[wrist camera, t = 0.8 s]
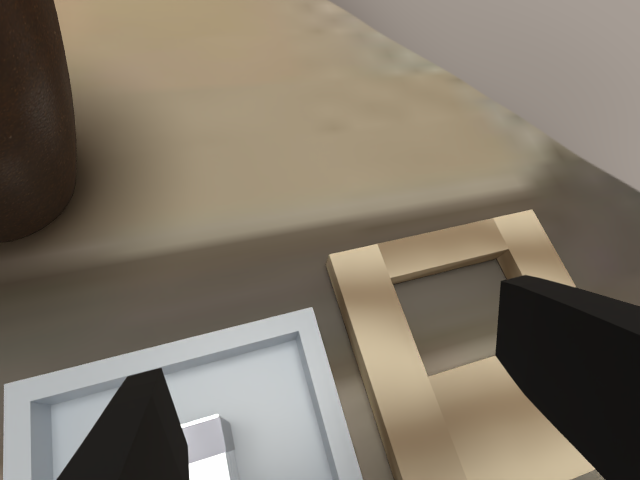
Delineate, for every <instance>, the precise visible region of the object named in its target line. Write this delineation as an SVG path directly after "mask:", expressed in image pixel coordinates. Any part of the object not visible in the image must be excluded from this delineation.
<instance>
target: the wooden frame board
mask: <svg viewBox="0 0 640 480" xmlns="http://www.w3.org/2000/svg"><path fill="white" fill-rule="evenodd" d="M493 259H497V260H498V262H499V264H500V266H501V268H502V270H503V272H504V274H505V276H506V278H507V279H511V278H515V277H519V276H523V275H528V276H533V277H538V278H542V279H546V280H550V281H554V282H558V283H561V284H565V285H568V286H572V287H575V288H576V286H575V284H574V283H573V281H572V279H571V277H570V275H569V274H568V272H567V270H566V268H565V267H564V265H563V263H562V261H561V260H560V258H559V256H558V254H557V252H556V251H555V249H554V247H553V245H552V244H551V242H550V240H549V238H548V236H547V235H546V233H545V231H544V229H543V228H542V226H541V224H540V222H539V221H538V219H537V217H536V215H535V213H534V212H533V210H528V211H523V212H519V213H514V214H510V215H505V216H501V217H496V218H492V219H487V220H483V221H478V222H474V223H469V224H465V225H460V226H456V227H451V228H447V229H442V230H438V231H433V232H429V233H424V234H420V235H415V236H411V237H406V238H402V239H397V240H393V241H388V242H384V243H379V244H375V245H370V246H366V247H361V248H357V249H352V250H348V251H343V252H339V253H334V254H330V255H329V257H328V260H327V262H326V267H327V271H328V274H329V277H330V280H331V283H332V286H333V289H334V292H335V296H336V299H337V302H338V305H339V308H340V311H341V314H342V318H343V321H344V324H345V327H346V330H347V333H348V336H349V339H350V343H351V346H352V349H353V352H354V355H355V358H356V361H357V364H358V368H359V371H360V374H361V377H362V380H363V383H364V386H365V390H366V393H367V396H368V399H369V402H370V405H371V408H372V411H373V415H374V418H375V421H376V424H377V427H378V430H379V433H380V436H381V440H382V443H383V446H384V449H385V452H386V455H387V458H388V461H389V465H390V468H391V471H392V474H393V477H394V480H571V479H573V478H576V477H578V476H581V475H583V474H586V473H588V472H590V471H593V470H595V468H594V467H593V466H592V465H591V464H590V463H589V462H588V461H587V460H586V459H585V458H584V457H583V456H582V455H581V454H580V453H579V452H578V450H577V449H576V448H575V447H574V446H573V445H572V444H571V443H570V442H569V441H568V440H567V439H566V438H565V437H564V436H563V435H562V434H561V433H560V432H559V431H558V430H557V429H556V428H555V427H554V426H553V425H552V424H551V423H550V421H549V420H548V419H547V418H546V417H545V416H544V415H543V414H542V413H541V412H540V411H539V410H538V409H537V408H536V407H535V406H534V405H533V403H532V402H531V401H530V400H529V399H528V398H527V397H526V396H525V395H524V394H523V392H522V391H521V390H520V388H519V387H518V386H517V385H516V383H515V382H514V381H513V379H512V378H511V377H510V375H509V374H508V373H507V371H506V370H505V368H504V367H503V366H502V364H501V363H500V361H499V360H498V359H497V357H496V356H492V357H489V358H486V359H483V360H480V361H476V362H473V363H470V364H467V365H464V366H460V367H457V368H454V369H451V370H448V371H444V372H441V373H438V374H435V375H432V376H429V377H428V376H427V373H426V370H425V368H424V365H423V362H422V360H421V357H420V355H419V352H418V349H417V347H416V344H415V341H414V339H413V336H412V334H411V331H410V328H409V326H408V323H407V320H406V318H405V315H404V313H403V310H402V307H401V305H400V302H399V299H398V297H397V294H396V292H395V289H394V286H393V284H397V283H401V282H405V281H409V280H413V279H417V278H421V277H425V276H429V275H433V274H437V273H441V272H445V271H449V270H453V269H457V268H461V267H465V266H469V265H473V264H477V263H481V262H485V261H489V260H493Z"/></svg>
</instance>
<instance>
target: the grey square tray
mask: <svg viewBox="0 0 640 480" xmlns="http://www.w3.org/2000/svg"><path fill="white" fill-rule="evenodd" d="M158 368H162V371H163V374H164V377H165V380H166V383H167V386H168V388H169V391H170V394H171V397H172V400H173V403H174V406H175V409H176V412H177V415H178V418H179V421H180V424H181V425H182V424H186V423H189V422H192V421H196V420H199V419H202V418H206V417H209V416H213V415H216V414H219V415H220V416H222V417H223V418H225V419H226V420H227V421H229V423H230V425H231V430H232V436H233V441H234V446H235V450H234V452H235V457H236V463H237V468H238V473H239V478H240V480H363V478H362V475H361V471H360V468H359V465H358V461H357V458H356V454H355V451H354V448H353V444H352V441H351V437H350V434H349V430H348V427H347V424H346V420H345V417H344V413H343V410H342V407H341V403H340V400H339V396H338V393H337V390H336V386H335V383H334V379H333V376H332V372H331V369H330V366H329V362H328V359H327V355H326V352H325V349H324V345H323V342H322V338H321V335H320V332H319V328H318V325H317V321H316V318H315V314H314V311H313V308H312V307H311V308H307V309H303V310H299V311H295V312H291V313H287V314H283V315H279V316H275V317H271V318H267V319H263V320H259V321H255V322H251V323H247V324H243V325H239V326H235V327H231V328H227V329H223V330H219V331H215V332H211V333H207V334H203V335H199V336H195V337H191V338H187V339H183V340H179V341H175V342H171V343H167V344H163V345H159V346H155V347H151V348H147V349H143V350H139V351H135V352H131V353H127V354H123V355H119V356H115V357H111V358H107V359H103V360H99V361H95V362H91V363H87V364H83V365H79V366H76V367H72V368H68V369H64V370H60V371H56V372H52V373H48V374H44V375H40V376H36V377H32V378H28V379H24V380H20V381H16V382H12V383H8V384H4V455H3V480H56V479H57V478H58V477H59V475H60V474H61V472H62V471H63V469H64V468H65V467H66V465H67V464H68V462H69V461H70V459H71V458H72V457H73V455H74V454H75V452H76V451H77V449H78V448H79V447H80V445H81V444H82V442H83V441H84V439H85V438H86V436H87V435H88V433H89V432H90V430H91V429H92V427H93V426H94V424H95V423H96V422H97V420H98V419H99V417H100V416H101V414H102V413H103V411H104V410H105V408H106V407H107V405H108V404H109V402H110V401H111V399H112V398H113V396H114V395H115V393H116V392H117V390H118V389H119V387H120V386H121V384H122V383H123V382H124V380H125V379H126V377H127V376H131V375H134V374H138V373H142V372H146V371H150V370H154V369H158Z"/></svg>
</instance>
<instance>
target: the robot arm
mask: <svg viewBox="0 0 640 480" xmlns="http://www.w3.org/2000/svg"><path fill="white" fill-rule="evenodd" d="M495 356H496V357H497V359H498V360H499V361H500V363H501V364H502V366H503V367H504V368H505V370H506V371H507V373H508V374H509V375H510V377H511V378H512V379H513V381H514V382H515V383H516V385H517V386H518V387H519V388H520V390H521V391H522V392H523V394H524V395H525V396H526V397H527V398H528V399H529V400H530V401H531V402H532V403H533V405H534V406H535V407H536V408H537V409H538V410H539V411H540V412H541V413H542V414H543V415H544V416H545V417H546V418H547V419H548V420H549V421H550V423H551V424H552V425H553V426H554V427H555V428H556V429H557V430H558V431H559V432H560V433H561V434H562V435H563V436H564V437H565V438H566V439H567V440H568V441H569V442H570V443H571V444H572V445H573V446H574V447H575V448H576V449H577V450H578V452H579V453H580V454H581V455H582V456H583V457H584V458H585V459H586V460H587V461H588V462H589V463H590V464H591V465H592V466H593V467H594V468H595V469H596V470H597V471H598V472H599V473H600V474H601V475H602V476H603V477H604V478H605V479H606V480H640V306H636V305H633V304H629V303H626V302H623V301H619V300H616V299H613V298H609V297H606V296H602V295H599V294H596V293H592V292H589V291H585V290H582V289H579V288H575V287H572V286H568V285H565V284H561V283H558V282H554V281H550V280H546V279H542V278H538V277H533V276H528V275H523V276H519V277H515V278H511V279H507V280H503V281H501V288H500V301H499V315H498V328H497V342H496V355H495ZM56 480H190V478H189V456H188V444H187V441H186V438H185V436H184V433H183V430H182V427H181V424H180V421H179V418H178V415H177V412H176V409H175V406H174V403H173V400H172V397H171V394H170V391H169V388H168V386H167V383H166V380H165V377H164V374H163V371H162V368H158V369H154V370H150V371H146V372H142V373H138V374H134V375H131V376H127V377H126V379H125V380H124V382H123V383H122V384H121V386H120V387H119V389H118V390H117V392H116V393H115V395H114V396H113V398H112V399H111V401H110V402H109V404H108V405H107V407H106V408H105V410H104V411H103V413H102V414H101V416H100V417H99V419H98V420H97V422H96V423H95V424H94V426H93V427H92V429H91V430H90V432H89V433H88V435H87V436H86V438H85V439H84V441H83V442H82V444H81V445H80V447H79V448H78V449H77V451H76V452H75V454H74V455H73V457H72V458H71V459H70V461H69V462H68V464H67V465H66V467H65V468H64V469H63V471H62V472H61V474H60V475H59V477H58V478H57V479H56Z"/></svg>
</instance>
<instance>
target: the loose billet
mask: <svg viewBox="0 0 640 480" xmlns="http://www.w3.org/2000/svg"><path fill="white" fill-rule="evenodd" d="M181 427H182V430H183V433H184V436H185V438H186V441H187V444H188V456H189V478H190V480H240V478H239V473H238V468H237V463H236V457H235V452H234V450H235V446H234V441H233V436H232V430H231V425H230V423H229V421H227V420H226V419H225V418H223V417H222V416H220V415H219V414H216V415H213V416H209V417H206V418H202V419H199V420H196V421H192V422H189V423H186V424H182V425H181Z"/></svg>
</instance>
